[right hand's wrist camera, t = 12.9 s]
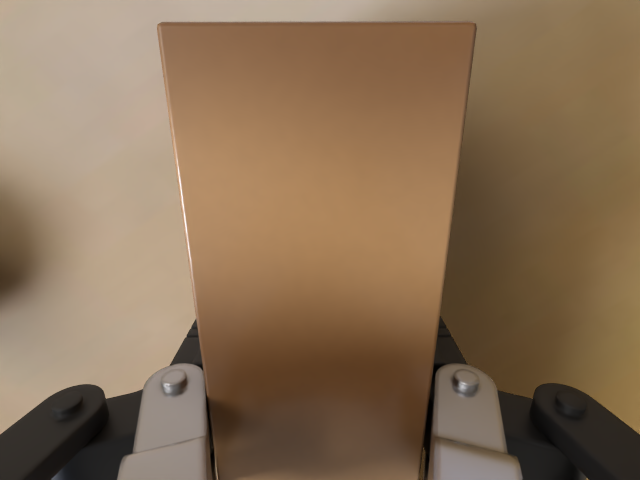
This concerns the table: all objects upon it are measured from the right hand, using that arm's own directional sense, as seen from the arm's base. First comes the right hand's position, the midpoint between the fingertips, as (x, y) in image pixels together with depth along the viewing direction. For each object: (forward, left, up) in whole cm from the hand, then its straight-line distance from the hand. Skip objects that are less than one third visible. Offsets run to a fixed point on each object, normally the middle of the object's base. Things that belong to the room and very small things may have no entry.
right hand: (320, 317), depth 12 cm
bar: (+10, -30, -4) cm, 32 cm away
